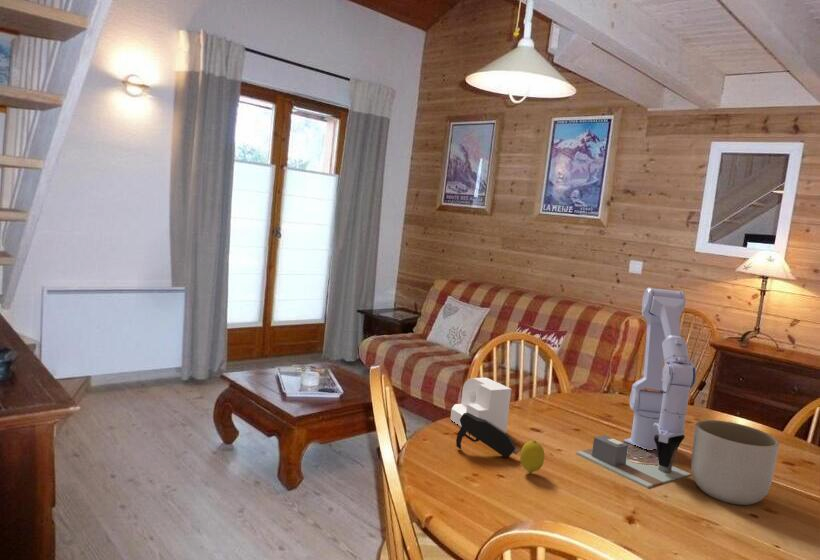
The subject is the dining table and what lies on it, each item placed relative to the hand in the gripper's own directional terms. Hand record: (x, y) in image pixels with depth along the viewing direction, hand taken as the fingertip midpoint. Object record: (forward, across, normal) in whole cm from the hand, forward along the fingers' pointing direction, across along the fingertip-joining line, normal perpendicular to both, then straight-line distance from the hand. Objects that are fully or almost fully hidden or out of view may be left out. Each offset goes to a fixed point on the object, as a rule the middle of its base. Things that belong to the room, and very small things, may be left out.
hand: (665, 463), depth 147 cm
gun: (+4, +27, -39) cm, 48 cm away
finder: (+2, +5, -12) cm, 14 cm away
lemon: (+3, +28, -24) cm, 37 cm away
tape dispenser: (+3, +9, -50) cm, 51 cm away
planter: (+3, +2, +14) cm, 15 cm away
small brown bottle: (+2, 0, 0) cm, 2 cm away
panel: (+2, +2, -8) cm, 8 cm away
